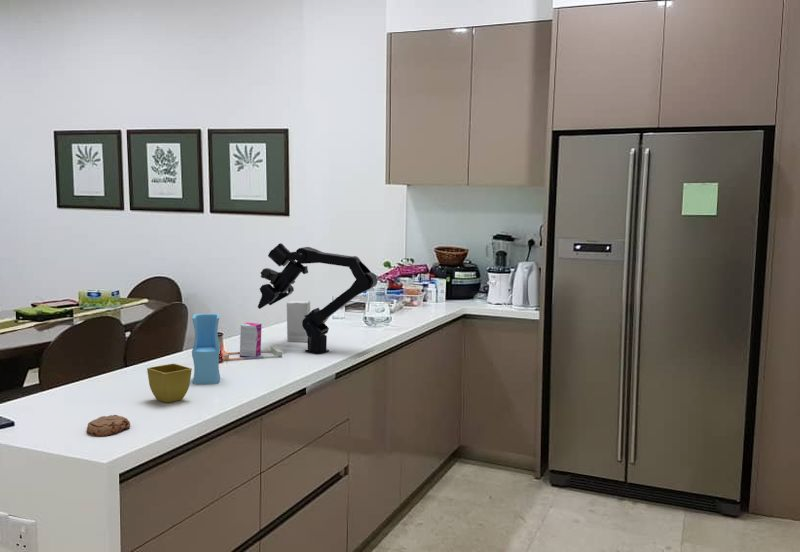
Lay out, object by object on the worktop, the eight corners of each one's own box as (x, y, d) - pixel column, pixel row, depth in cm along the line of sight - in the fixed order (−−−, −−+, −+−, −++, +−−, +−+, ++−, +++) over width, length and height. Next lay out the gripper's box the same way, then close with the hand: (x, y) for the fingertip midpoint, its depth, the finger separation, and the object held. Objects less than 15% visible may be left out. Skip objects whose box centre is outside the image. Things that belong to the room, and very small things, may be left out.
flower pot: (174, 393, 209) (174, 362, 208) (192, 399, 203) (192, 368, 202) (146, 399, 202) (146, 367, 201) (164, 406, 196) (164, 373, 195)
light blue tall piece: (192, 384, 219) (191, 318, 217) (194, 377, 227) (193, 313, 225) (219, 383, 221) (219, 318, 218) (220, 377, 228) (220, 313, 226)
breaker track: (274, 351, 267) (274, 345, 267) (282, 357, 258) (282, 351, 257) (219, 354, 259) (219, 349, 259) (224, 361, 250) (224, 355, 249)
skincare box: (310, 339, 290) (311, 300, 288) (307, 342, 284) (307, 303, 282) (290, 338, 291) (290, 299, 289) (285, 341, 284) (286, 302, 283)
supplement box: (255, 358, 255) (255, 326, 254) (239, 357, 256) (239, 324, 255) (261, 355, 260) (261, 323, 259) (245, 353, 262) (246, 322, 260)
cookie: (80, 438, 170) (80, 425, 170) (91, 424, 181) (91, 412, 180) (126, 437, 172) (125, 424, 172) (133, 423, 183) (133, 411, 182)
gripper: (283, 258, 278) (259, 288, 281) (262, 262, 260) (236, 294, 263) (304, 277, 276) (280, 308, 280) (284, 283, 258) (259, 315, 262)
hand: (263, 306), depth 271 cm, fingers open, 9 cm apart
